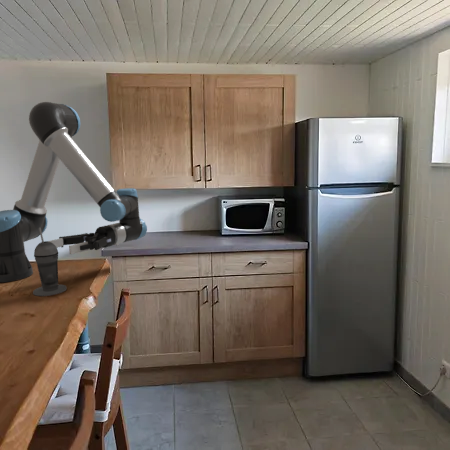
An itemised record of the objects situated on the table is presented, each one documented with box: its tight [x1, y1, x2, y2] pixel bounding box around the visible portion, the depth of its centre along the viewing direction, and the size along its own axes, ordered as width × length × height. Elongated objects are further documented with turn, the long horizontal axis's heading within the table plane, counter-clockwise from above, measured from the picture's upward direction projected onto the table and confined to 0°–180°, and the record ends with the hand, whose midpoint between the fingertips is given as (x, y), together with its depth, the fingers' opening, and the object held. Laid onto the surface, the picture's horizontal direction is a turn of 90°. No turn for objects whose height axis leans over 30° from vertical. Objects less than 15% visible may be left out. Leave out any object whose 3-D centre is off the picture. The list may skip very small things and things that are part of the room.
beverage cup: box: [33, 228, 59, 292], centre depth 143 cm, size 7×7×20 cm
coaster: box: [32, 283, 68, 297], centre depth 145 cm, size 10×10×1 cm
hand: (57, 248), depth 145 cm, fingers open, 13 cm apart
